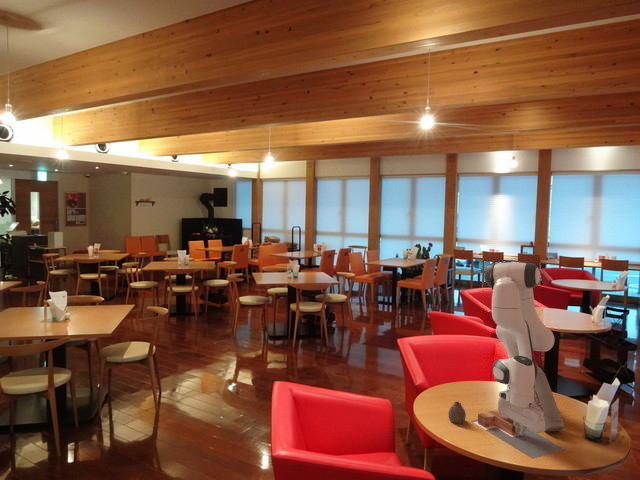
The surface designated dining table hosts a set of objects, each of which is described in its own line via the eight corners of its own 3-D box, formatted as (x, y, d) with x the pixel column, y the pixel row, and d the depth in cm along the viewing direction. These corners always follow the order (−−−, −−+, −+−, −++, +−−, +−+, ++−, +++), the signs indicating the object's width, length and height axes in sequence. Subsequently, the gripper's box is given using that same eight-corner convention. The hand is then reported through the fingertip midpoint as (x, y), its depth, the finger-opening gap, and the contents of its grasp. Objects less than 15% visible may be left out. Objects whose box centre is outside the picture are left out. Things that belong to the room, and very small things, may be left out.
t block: (503, 417, 195) (503, 408, 195) (528, 431, 183) (528, 421, 183) (477, 423, 189) (478, 413, 189) (502, 437, 177) (502, 427, 177)
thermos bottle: (548, 426, 179) (524, 359, 197) (541, 433, 185) (518, 367, 203) (568, 425, 179) (542, 358, 197) (560, 431, 185) (536, 366, 203)
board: (501, 416, 198) (501, 414, 198) (565, 452, 170) (566, 449, 170) (470, 423, 192) (470, 420, 192) (532, 461, 163) (532, 458, 163)
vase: (466, 428, 187) (467, 407, 187) (448, 426, 189) (449, 405, 188) (464, 420, 194) (465, 400, 193) (447, 418, 195) (448, 398, 195)
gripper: (550, 408, 169) (548, 444, 170) (507, 388, 188) (506, 421, 189) (537, 410, 167) (536, 447, 168) (495, 390, 186) (494, 424, 186)
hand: (519, 433), depth 178 cm, fingers closed
